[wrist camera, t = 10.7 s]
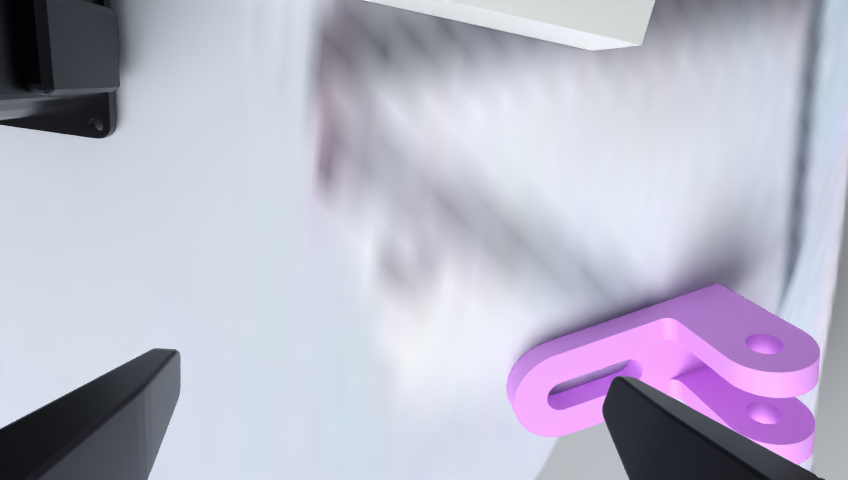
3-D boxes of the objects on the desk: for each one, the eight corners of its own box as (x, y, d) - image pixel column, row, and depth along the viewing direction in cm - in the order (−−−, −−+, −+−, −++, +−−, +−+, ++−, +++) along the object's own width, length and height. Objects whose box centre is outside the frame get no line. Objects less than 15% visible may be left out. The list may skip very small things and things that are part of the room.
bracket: (715, 281, 25) (844, 354, 18) (718, 360, 27) (835, 450, 20) (496, 357, 24) (548, 459, 18) (516, 431, 26) (570, 546, 20)
